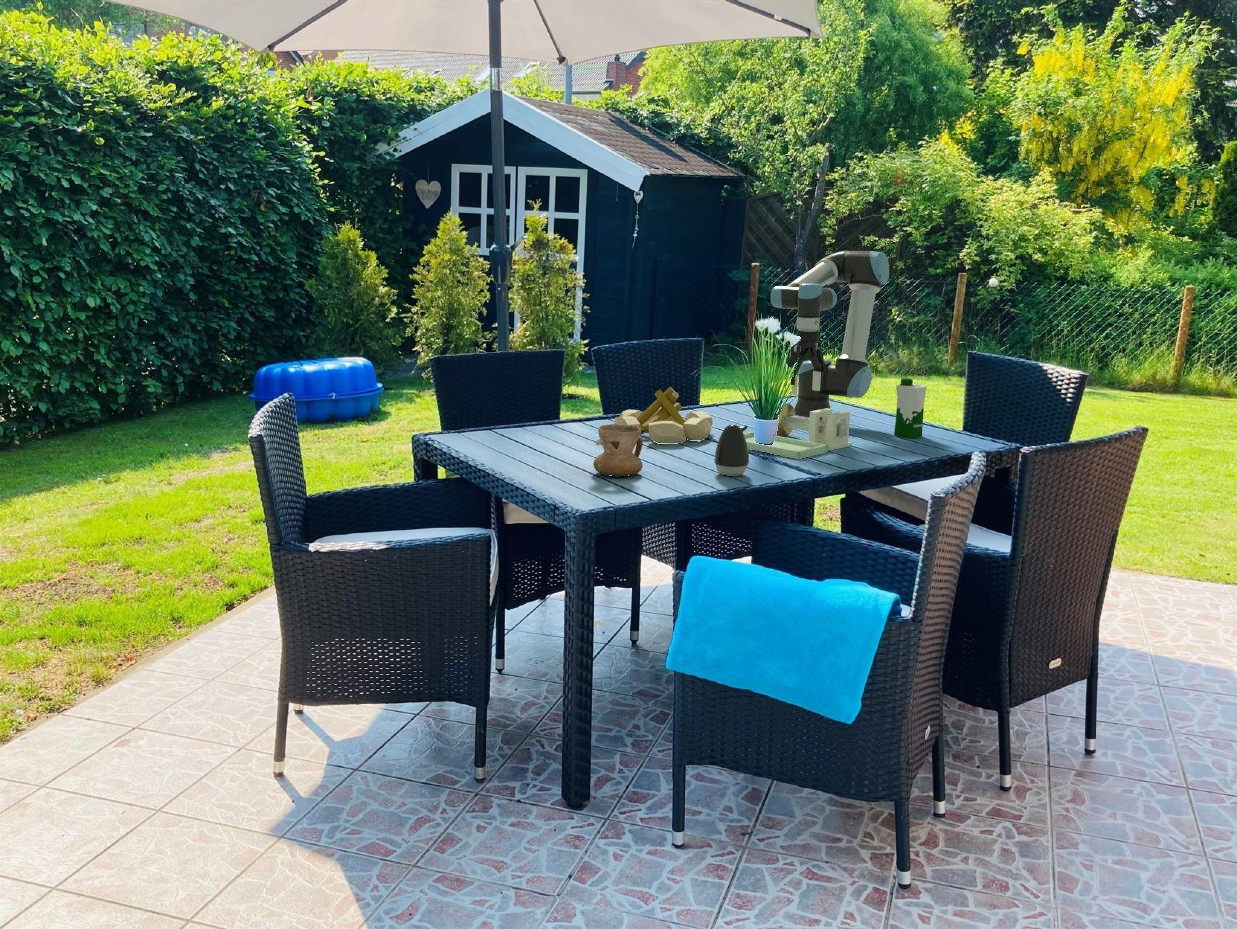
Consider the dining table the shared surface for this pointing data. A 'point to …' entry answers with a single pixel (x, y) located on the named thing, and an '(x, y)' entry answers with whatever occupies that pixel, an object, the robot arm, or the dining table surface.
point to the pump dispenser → (732, 451)
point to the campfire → (668, 420)
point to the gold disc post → (803, 423)
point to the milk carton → (909, 409)
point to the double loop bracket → (829, 428)
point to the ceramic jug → (619, 450)
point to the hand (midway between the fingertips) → (804, 392)
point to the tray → (787, 447)
